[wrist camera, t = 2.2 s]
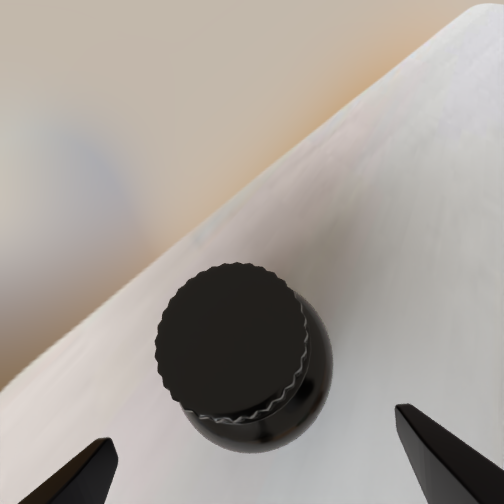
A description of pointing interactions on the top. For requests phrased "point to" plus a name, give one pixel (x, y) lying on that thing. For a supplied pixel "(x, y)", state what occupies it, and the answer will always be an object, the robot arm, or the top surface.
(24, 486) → the top surface
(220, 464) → the top surface
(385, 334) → the top surface
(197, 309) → the supplement bottle
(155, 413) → the top surface
